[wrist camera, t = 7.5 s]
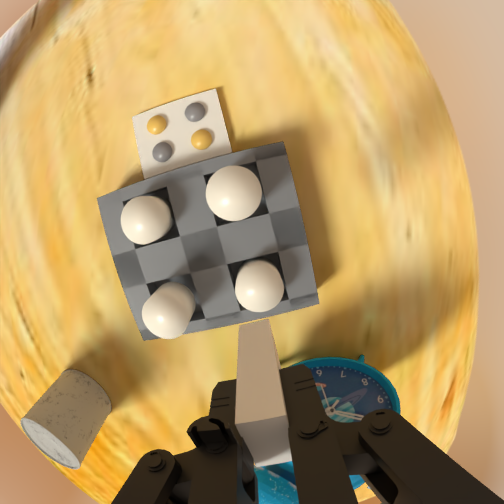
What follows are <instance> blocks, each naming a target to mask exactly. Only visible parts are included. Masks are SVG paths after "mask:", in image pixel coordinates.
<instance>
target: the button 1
mask: <svg viewBox="0 0 504 504" xmlns="http://www.w3.org/2000/svg"><path fill="white" fill-rule="evenodd" d="M174 223H175V217H174V213H173V209H172V205H171V203H170V202H169V201H168V200H166V199H165V198H163V197H160V196H139V197H135V198H133V199H131V200H130V201H129V202H128V203H127V204H126V205H125V207H124V208H123V211H122V214H121V226H122V230H123V232H124V234H125V235H126V236H127V238H128V239H129V240H131V241H132V242H134V243H137V244H148V243H151V242H153V241H155V240H157V239H159V238H161V237H163V236H165V235H167V234H168V233H169V232H170V231H171V229H172V228H173V226H174Z"/></svg>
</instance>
